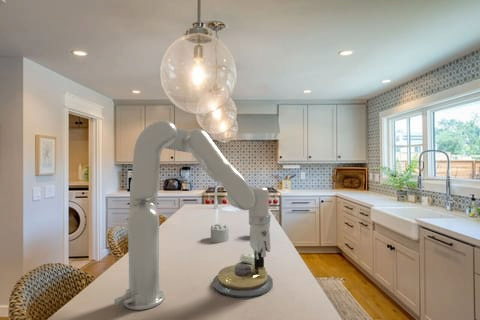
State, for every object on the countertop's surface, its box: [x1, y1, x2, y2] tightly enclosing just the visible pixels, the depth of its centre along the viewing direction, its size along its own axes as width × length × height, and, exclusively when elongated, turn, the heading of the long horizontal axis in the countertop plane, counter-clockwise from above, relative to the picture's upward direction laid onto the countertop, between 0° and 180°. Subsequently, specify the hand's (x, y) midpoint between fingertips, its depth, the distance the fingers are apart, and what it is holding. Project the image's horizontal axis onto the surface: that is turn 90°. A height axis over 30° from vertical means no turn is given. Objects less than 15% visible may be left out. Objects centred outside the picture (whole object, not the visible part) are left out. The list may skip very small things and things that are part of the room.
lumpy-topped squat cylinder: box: [210, 223, 230, 244], centre depth 170 cm, size 10×13×9 cm
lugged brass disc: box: [217, 263, 268, 291], centre depth 108 cm, size 18×18×6 cm
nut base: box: [212, 273, 274, 299], centre depth 108 cm, size 22×22×3 cm
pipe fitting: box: [239, 253, 254, 265], centre depth 131 cm, size 8×4×7 cm
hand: (259, 268), depth 110 cm, fingers closed
